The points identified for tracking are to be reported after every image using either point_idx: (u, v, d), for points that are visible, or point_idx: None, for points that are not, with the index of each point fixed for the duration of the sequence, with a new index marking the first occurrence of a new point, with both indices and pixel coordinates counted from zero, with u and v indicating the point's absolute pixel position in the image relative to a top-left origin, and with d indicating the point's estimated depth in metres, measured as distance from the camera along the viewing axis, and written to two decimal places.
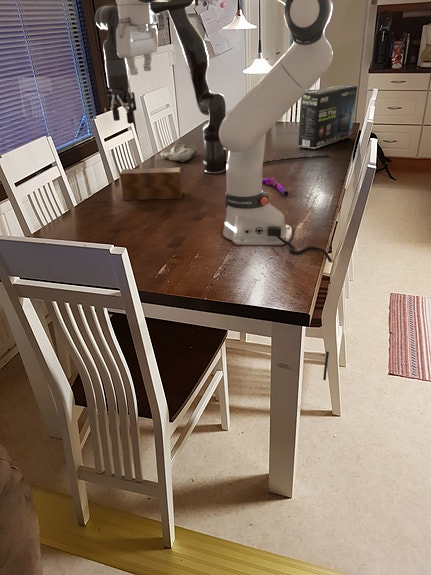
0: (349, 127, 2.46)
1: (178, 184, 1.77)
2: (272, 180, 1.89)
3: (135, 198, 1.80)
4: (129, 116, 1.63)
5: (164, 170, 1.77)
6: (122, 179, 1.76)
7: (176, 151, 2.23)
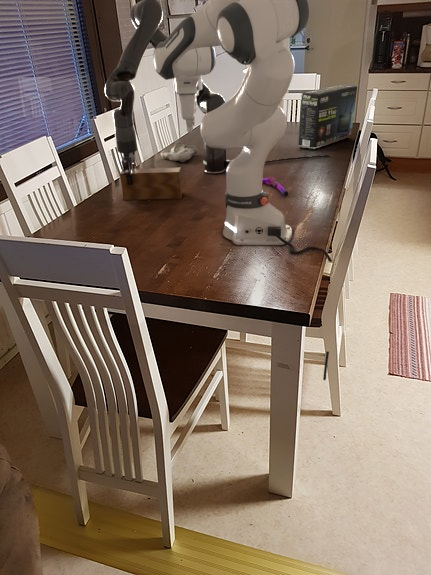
0: (349, 127, 2.46)
1: (178, 184, 1.77)
2: (272, 180, 1.89)
3: (135, 198, 1.80)
4: None
5: (164, 170, 1.77)
6: (122, 179, 1.76)
7: (176, 151, 2.23)
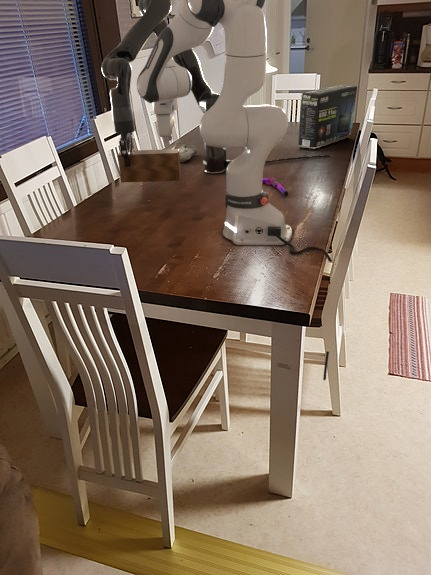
0: (349, 127, 2.46)
1: (177, 166, 1.73)
2: (272, 180, 1.89)
3: (133, 180, 1.76)
4: None
5: (163, 151, 1.73)
6: (119, 161, 1.73)
7: None
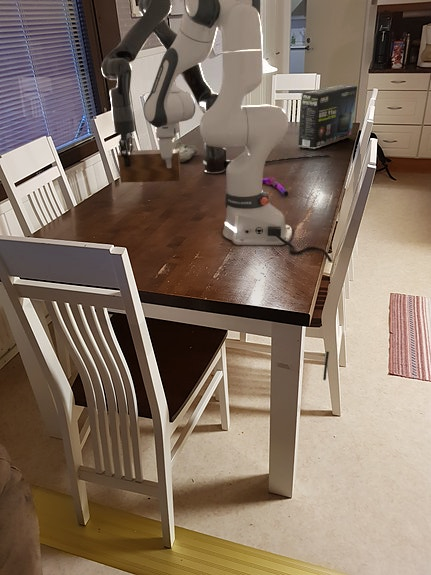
0: (349, 127, 2.46)
1: (177, 166, 1.73)
2: (272, 180, 1.89)
3: (133, 180, 1.76)
4: None
5: None
6: (119, 161, 1.73)
7: None
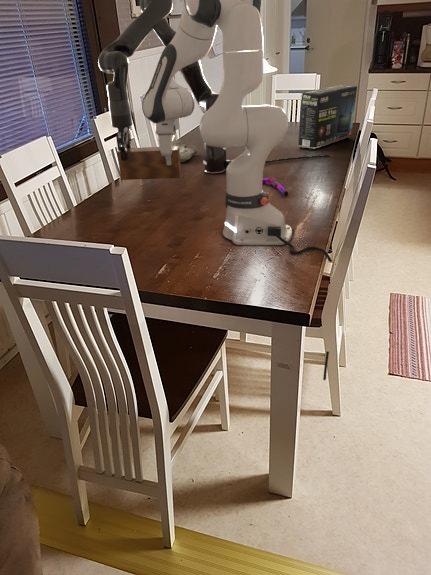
0: (349, 127, 2.46)
1: (177, 163, 1.72)
2: (272, 180, 1.89)
3: (133, 178, 1.76)
4: None
5: None
6: (119, 158, 1.72)
7: None
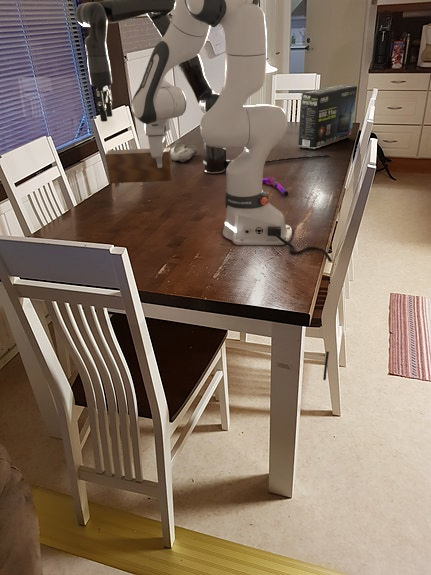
0: (349, 127, 2.46)
1: (168, 165, 1.65)
2: (272, 180, 1.89)
3: (122, 181, 1.68)
4: None
5: None
6: (108, 160, 1.64)
7: (176, 151, 2.23)
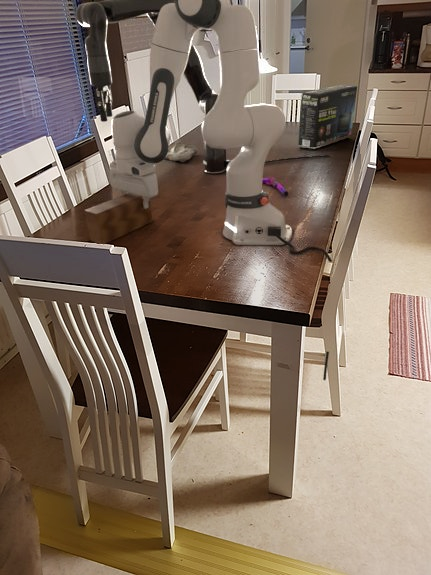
0: (349, 127, 2.46)
1: (149, 206, 1.57)
2: (272, 180, 1.89)
3: (113, 238, 1.48)
4: None
5: (131, 196, 1.53)
6: (99, 220, 1.42)
7: (176, 151, 2.23)
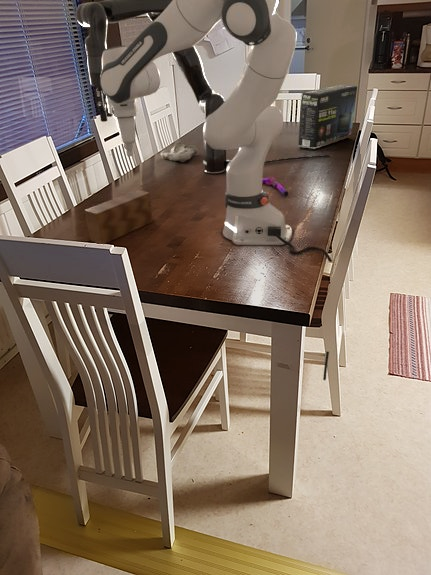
0: (349, 127, 2.46)
1: (149, 206, 1.57)
2: (272, 180, 1.89)
3: (113, 238, 1.48)
4: None
5: (131, 196, 1.53)
6: (99, 220, 1.42)
7: (176, 151, 2.23)
